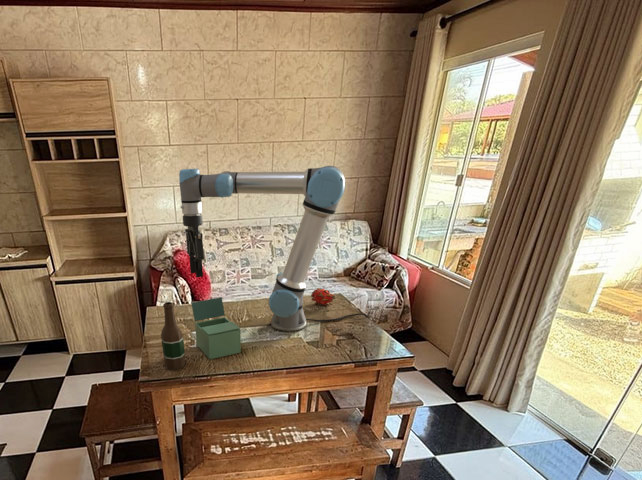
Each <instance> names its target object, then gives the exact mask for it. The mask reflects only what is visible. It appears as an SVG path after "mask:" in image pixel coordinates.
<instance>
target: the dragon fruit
mask: <svg viewBox="0 0 642 480" xmlns="http://www.w3.org/2000/svg"><path fill="white" fill-rule="evenodd" d="M330 292H331V291H330V290H328V289H325V288H319V287H317V289H314V290H312V292H311V293H310V297H311V301H312V302H315V303H316V304H317V305H318V306H319V305H323V306H329V305H330V303H333V300H335V299H336V297H335V294H333V293H330Z"/></svg>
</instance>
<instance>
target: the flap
mask: <svg viewBox="0 0 642 480" xmlns="http://www.w3.org/2000/svg"><path fill="white" fill-rule="evenodd" d="M223 303H224V301H223V297H221V296H220V297H215V298H209V299H204V300H198V301H193V302H191V303H190V304H191V309H192V314H193V320H194V322H199V321H205V320H210V319H215V318H221V317H225V316H226V314H225V309H224V304H223Z"/></svg>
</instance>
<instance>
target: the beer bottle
mask: <svg viewBox="0 0 642 480" xmlns="http://www.w3.org/2000/svg"><path fill="white" fill-rule="evenodd" d="M162 307H163V312H164V313H163V314H164V326H163V327H162V329H161V334H160V338H161V339H160V341H161V346H162V353H163V354H162V357H163V361H164V366H165V367H166V369H167V370H173V371H176V370H179V369H183V367H184V366H186V354H185V343H184V335H183V332H182V329H181V328H180V327H179V326H178V324H177V319H176V314H175V308H174V307H175V305H174V303H173V302H172V301H167V302H164V303H162Z"/></svg>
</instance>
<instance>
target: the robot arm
mask: <svg viewBox="0 0 642 480" xmlns="http://www.w3.org/2000/svg"><path fill="white" fill-rule="evenodd" d="M178 177H179V179H178V180H179V181H178V184H179V192H180V193H179V194H180V203H181V205H180V209H181V213H182V214H183V215H182V225H183V226H184V227H187V228H185V229H184V232H185V241H186V254H187V255H188V257H189V269H190V274H195V277H196V278H203V277H204V269H203V260H205V255H204V242H203V241H204V240H203V235H204V234H203V232H201V230H200V226H202V225H203V224H204V220H203V215H202V213H203V204H202V198H221V199H222V198H229V197H231V196H232V195H233V194H234V195H235V194H247V195H249V194H254V195H255V194H257V195H259V194H260V195H263V194H264V195H266V194H267V195H303V196H304V198H303V202H302V206H303V209H304V212H303V216H302V218H301V221H300V224H299V226H298V230H297V233H296V236H295V238H294V241H293V244H292V246H291V249H290V253H289V255H288V258H287V260H286V264H285V266H284V269H283V272H279V273H277V274H276V278H275V284H274V287H273V289H272V292H271V293H270V295H269V297H268V306H269V307H268V308H269V309H270V311H271V312H272V313H273V314H272V316H271V320H270V325H271V327H272V328H273V329H274V330H277V331H281V332H297V331H298V332H299V331H302V330H303V329H305V328H306V326H307V321H311V322H333V321H334V322H335V321H340V320H342V319H345V318H349V317H354V316H365V317H366V318H369V317H370V316H369V315H368V314H366V313H364V312H363V313H362V312H360V313H353V314H346V315H343V316H340V317H337V318H330V319H315V318H306V316H305V311H304V294H305V291H306V288H307V284H306V281H305V279H306V277H307V274H308V272H309V269H310V267H311V265H312V262H313V259H314V256H315V254H316V251H317V249H318V246H319V243H320V240H321V238H322V235H323V233H324V231H325V227H326V226H327V222H328V220H329V218H331V217H333V216H335V213H336V211H337V209H338V206H339V203H340V201H341V199H342V197H343V195H344V193H345V189H346V177H345V174H344V172H343V170H341V169H340V168H339V167H338V166H334V165H326V166H325V165H324V166H322V167H312V168H308V167H307V169H306V170H304V171H237V172H236V171H223V172H220V173H215V174H212V173H211V174H201V173H200V169H199V168H183V169H180V170H179V173H178Z"/></svg>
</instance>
